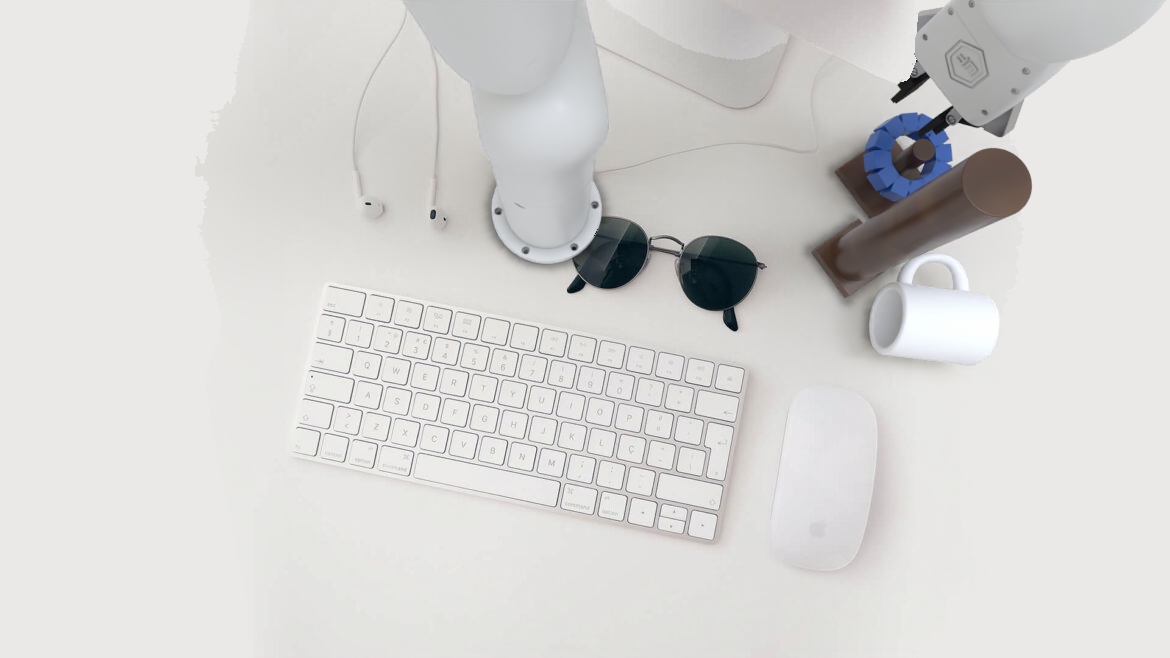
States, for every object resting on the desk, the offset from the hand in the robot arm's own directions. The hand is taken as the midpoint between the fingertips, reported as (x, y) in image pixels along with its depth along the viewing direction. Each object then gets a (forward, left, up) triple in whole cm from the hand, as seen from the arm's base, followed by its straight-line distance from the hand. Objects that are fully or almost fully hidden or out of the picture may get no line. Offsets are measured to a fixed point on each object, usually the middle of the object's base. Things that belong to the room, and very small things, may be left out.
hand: (917, 110), depth 63 cm
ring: (+3, 0, -6) cm, 7 cm away
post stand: (+4, 0, -12) cm, 12 cm away
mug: (+18, -7, -12) cm, 23 cm away
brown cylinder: (+9, -9, -12) cm, 17 cm away
